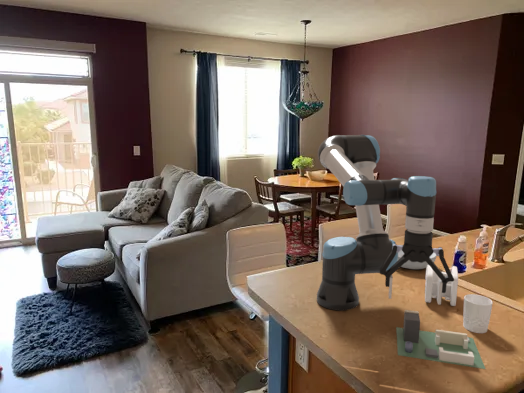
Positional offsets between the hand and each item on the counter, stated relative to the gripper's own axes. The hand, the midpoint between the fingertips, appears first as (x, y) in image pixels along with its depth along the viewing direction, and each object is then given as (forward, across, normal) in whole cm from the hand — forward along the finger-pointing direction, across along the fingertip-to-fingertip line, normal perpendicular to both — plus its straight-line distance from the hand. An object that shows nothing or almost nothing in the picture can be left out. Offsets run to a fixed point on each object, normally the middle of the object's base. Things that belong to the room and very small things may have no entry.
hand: (413, 299), depth 117 cm
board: (+13, +7, -3) cm, 15 cm away
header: (+12, +11, -5) cm, 17 cm away
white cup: (+13, +20, +12) cm, 27 cm away
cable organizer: (+13, +12, +32) cm, 37 cm away
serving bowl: (+12, +4, +66) cm, 68 cm away
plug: (+12, 0, 0) cm, 12 cm away
